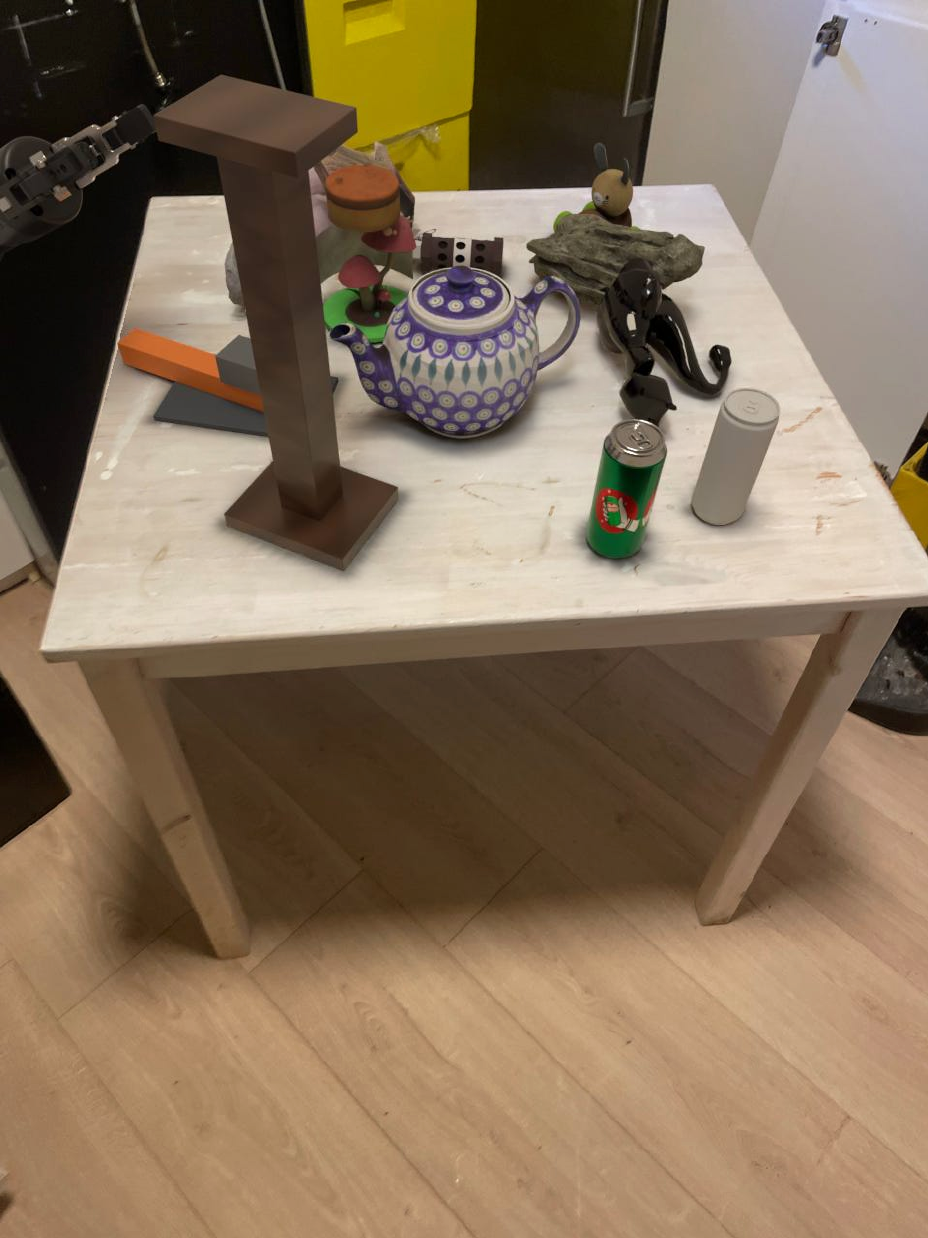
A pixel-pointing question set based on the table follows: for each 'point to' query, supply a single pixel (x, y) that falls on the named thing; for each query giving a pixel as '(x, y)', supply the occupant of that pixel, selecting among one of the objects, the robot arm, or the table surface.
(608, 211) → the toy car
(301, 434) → the walnut stand
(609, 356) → the table surface
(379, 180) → the mushroom terrarium
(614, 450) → the soda can
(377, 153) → the fragment
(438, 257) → the brown holed brick
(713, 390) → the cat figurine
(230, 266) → the stone
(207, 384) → the hammer with orange handle
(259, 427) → the grey mat
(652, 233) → the stone
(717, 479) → the beverage can
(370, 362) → the teapot
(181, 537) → the table surface
